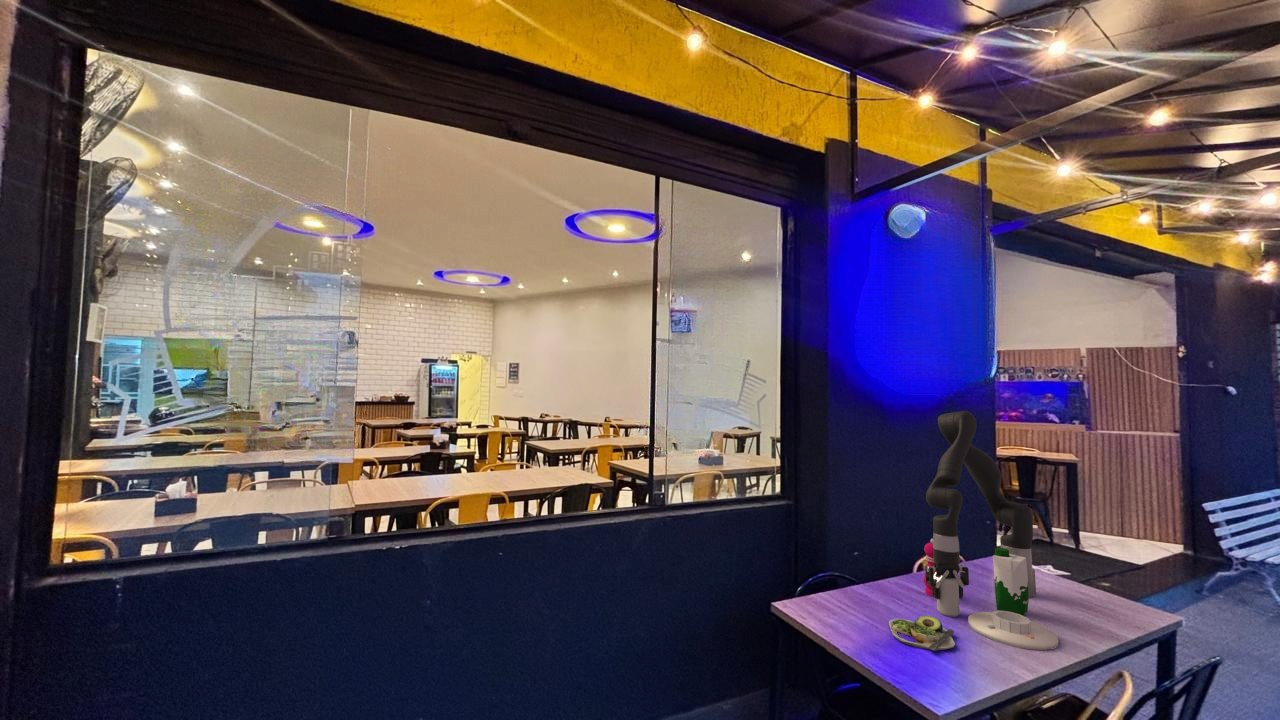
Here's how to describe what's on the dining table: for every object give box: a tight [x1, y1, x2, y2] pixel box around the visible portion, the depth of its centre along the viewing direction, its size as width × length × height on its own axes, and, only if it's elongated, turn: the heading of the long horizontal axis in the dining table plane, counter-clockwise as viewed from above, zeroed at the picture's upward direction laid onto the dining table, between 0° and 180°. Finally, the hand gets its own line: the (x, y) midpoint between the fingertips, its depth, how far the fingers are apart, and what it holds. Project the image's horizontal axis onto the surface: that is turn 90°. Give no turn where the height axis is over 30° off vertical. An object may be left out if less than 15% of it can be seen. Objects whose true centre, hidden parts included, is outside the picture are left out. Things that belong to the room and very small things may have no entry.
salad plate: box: [888, 615, 956, 652], centre depth 145 cm, size 19×18×5 cm
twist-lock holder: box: [967, 610, 1059, 651], centre depth 151 cm, size 22×22×4 cm
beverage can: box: [936, 576, 961, 618], centre depth 164 cm, size 6×6×12 cm
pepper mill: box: [922, 538, 936, 598], centre depth 181 cm, size 7×7×20 cm
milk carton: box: [992, 547, 1030, 616], centre depth 168 cm, size 9×9×20 cm
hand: (947, 598), depth 164 cm, fingers open, 7 cm apart
